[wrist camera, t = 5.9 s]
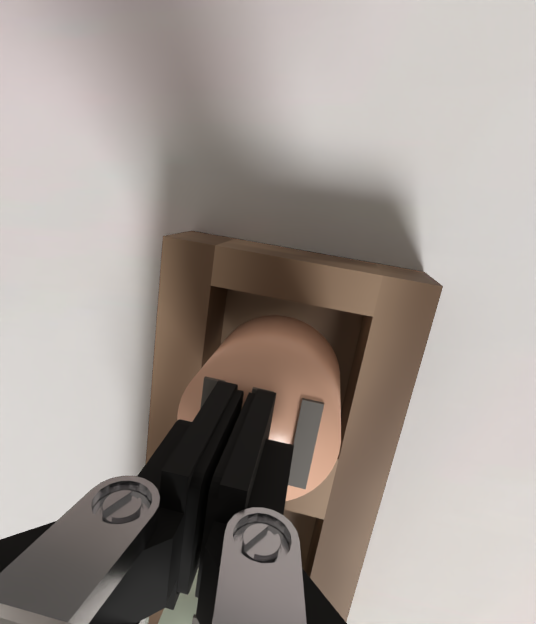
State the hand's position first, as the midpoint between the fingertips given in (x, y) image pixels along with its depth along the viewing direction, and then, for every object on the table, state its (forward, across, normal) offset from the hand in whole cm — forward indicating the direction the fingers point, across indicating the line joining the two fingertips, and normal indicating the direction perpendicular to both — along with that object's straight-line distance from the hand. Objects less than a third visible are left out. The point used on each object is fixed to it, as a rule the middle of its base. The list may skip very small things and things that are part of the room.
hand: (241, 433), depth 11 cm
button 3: (+4, 0, 0) cm, 4 cm away
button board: (+7, 0, +9) cm, 12 cm away
